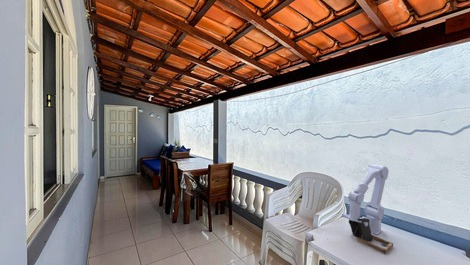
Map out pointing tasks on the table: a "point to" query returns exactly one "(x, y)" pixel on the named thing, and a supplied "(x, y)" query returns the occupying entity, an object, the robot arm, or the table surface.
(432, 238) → the table surface
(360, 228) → the phone stand
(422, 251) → the table surface
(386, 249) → the walnut bracket
